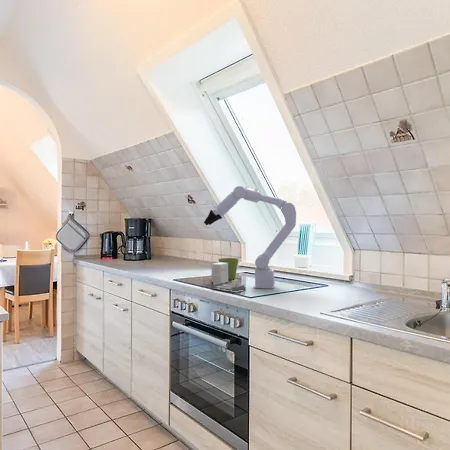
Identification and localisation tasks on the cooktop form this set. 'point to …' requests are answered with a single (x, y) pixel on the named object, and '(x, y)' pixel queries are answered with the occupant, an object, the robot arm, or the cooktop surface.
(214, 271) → the small box
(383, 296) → the cooktop surface
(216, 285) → the console strip
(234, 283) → the fader knob
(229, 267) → the plant pot
